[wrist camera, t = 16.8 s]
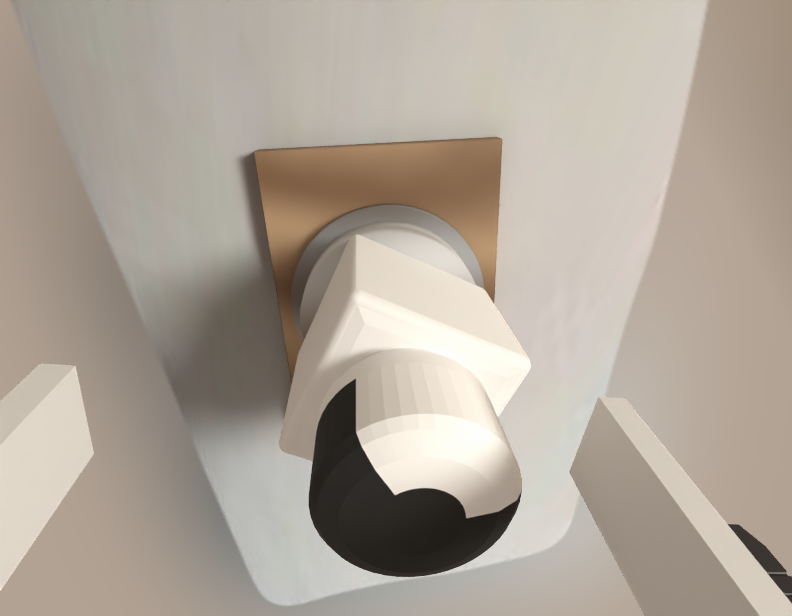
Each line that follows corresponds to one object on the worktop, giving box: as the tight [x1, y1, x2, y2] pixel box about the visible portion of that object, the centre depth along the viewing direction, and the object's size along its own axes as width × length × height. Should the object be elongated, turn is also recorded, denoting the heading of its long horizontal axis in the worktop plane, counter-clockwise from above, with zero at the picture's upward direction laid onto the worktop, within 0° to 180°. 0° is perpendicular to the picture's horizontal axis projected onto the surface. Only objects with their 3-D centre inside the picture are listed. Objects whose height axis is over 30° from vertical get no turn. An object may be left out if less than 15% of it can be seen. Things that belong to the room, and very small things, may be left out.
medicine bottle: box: [279, 234, 531, 577], centre depth 18 cm, size 7×7×12 cm
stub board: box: [254, 137, 502, 383], centre depth 25 cm, size 16×12×4 cm
